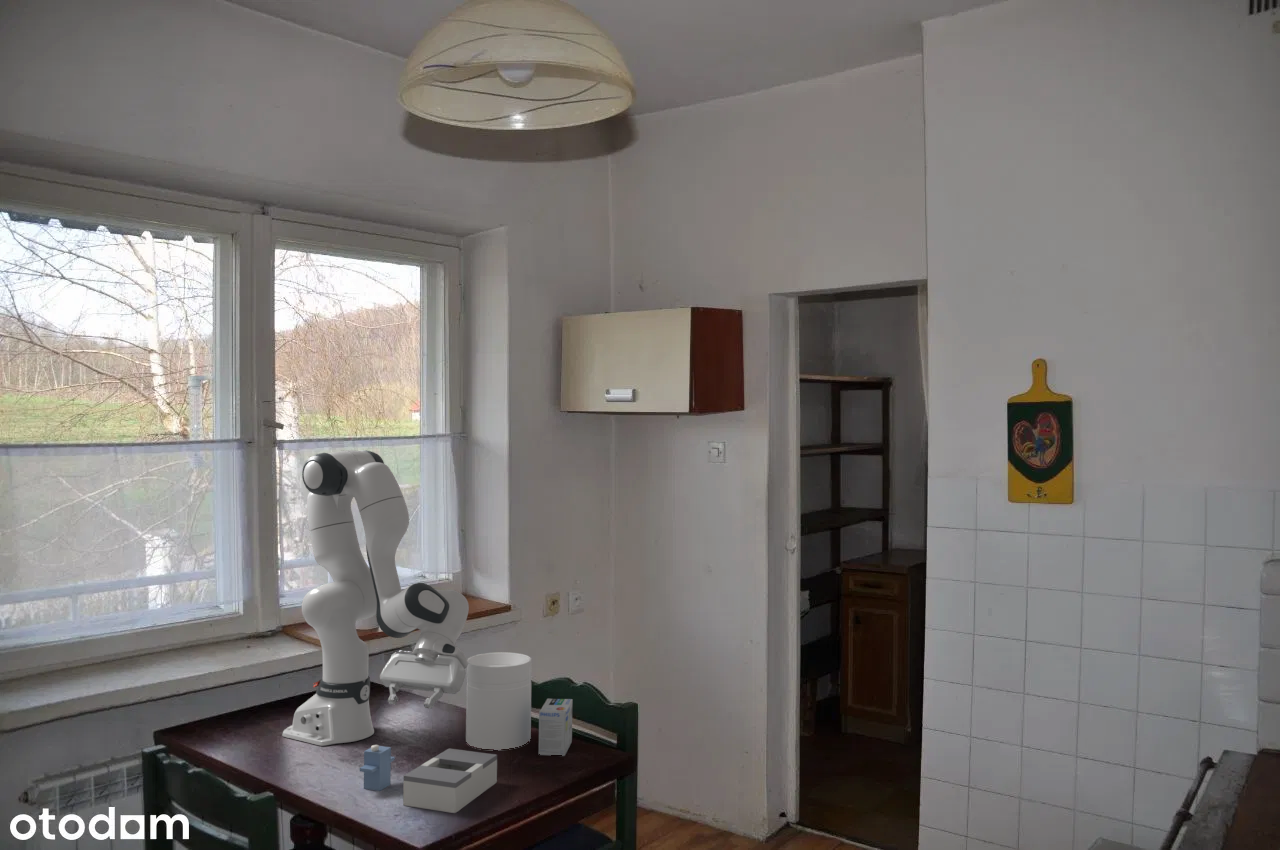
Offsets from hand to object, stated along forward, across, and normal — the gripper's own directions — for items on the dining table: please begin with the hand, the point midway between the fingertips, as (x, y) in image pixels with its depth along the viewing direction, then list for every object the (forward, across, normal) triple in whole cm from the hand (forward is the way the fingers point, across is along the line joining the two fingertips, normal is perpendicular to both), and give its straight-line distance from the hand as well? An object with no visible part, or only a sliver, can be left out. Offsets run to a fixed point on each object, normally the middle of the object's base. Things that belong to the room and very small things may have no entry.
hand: (409, 705), depth 213 cm
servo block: (+19, 0, +2) cm, 19 cm away
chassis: (+17, +17, +3) cm, 24 cm away
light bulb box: (-7, +26, +27) cm, 38 cm away
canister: (-7, +10, +28) cm, 30 cm away
